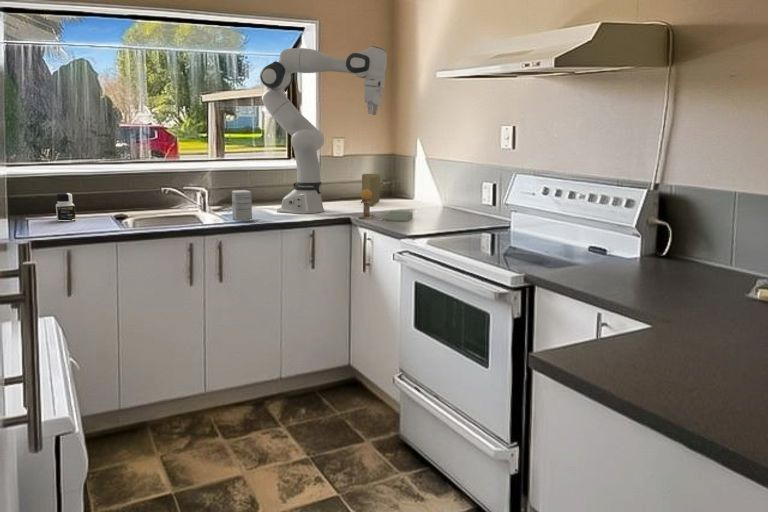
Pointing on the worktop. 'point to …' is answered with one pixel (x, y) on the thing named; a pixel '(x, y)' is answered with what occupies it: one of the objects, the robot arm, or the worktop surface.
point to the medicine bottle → (65, 207)
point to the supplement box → (241, 205)
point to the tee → (366, 210)
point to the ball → (366, 194)
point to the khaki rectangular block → (372, 186)
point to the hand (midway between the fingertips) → (371, 114)
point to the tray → (398, 216)
